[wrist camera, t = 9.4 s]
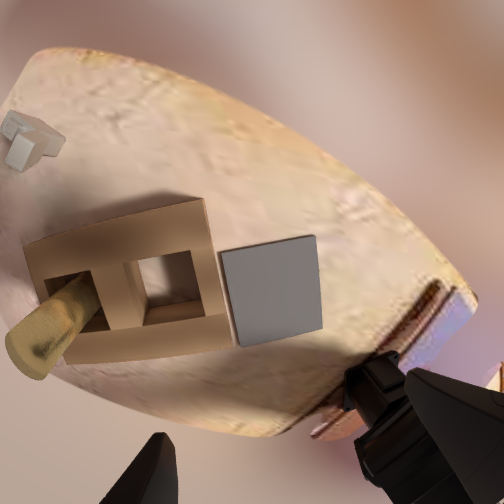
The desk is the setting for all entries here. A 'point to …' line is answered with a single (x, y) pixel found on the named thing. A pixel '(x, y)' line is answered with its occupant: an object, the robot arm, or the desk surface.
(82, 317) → the peg
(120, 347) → the hole block
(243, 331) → the mat
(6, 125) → the lighter
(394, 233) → the desk surface
